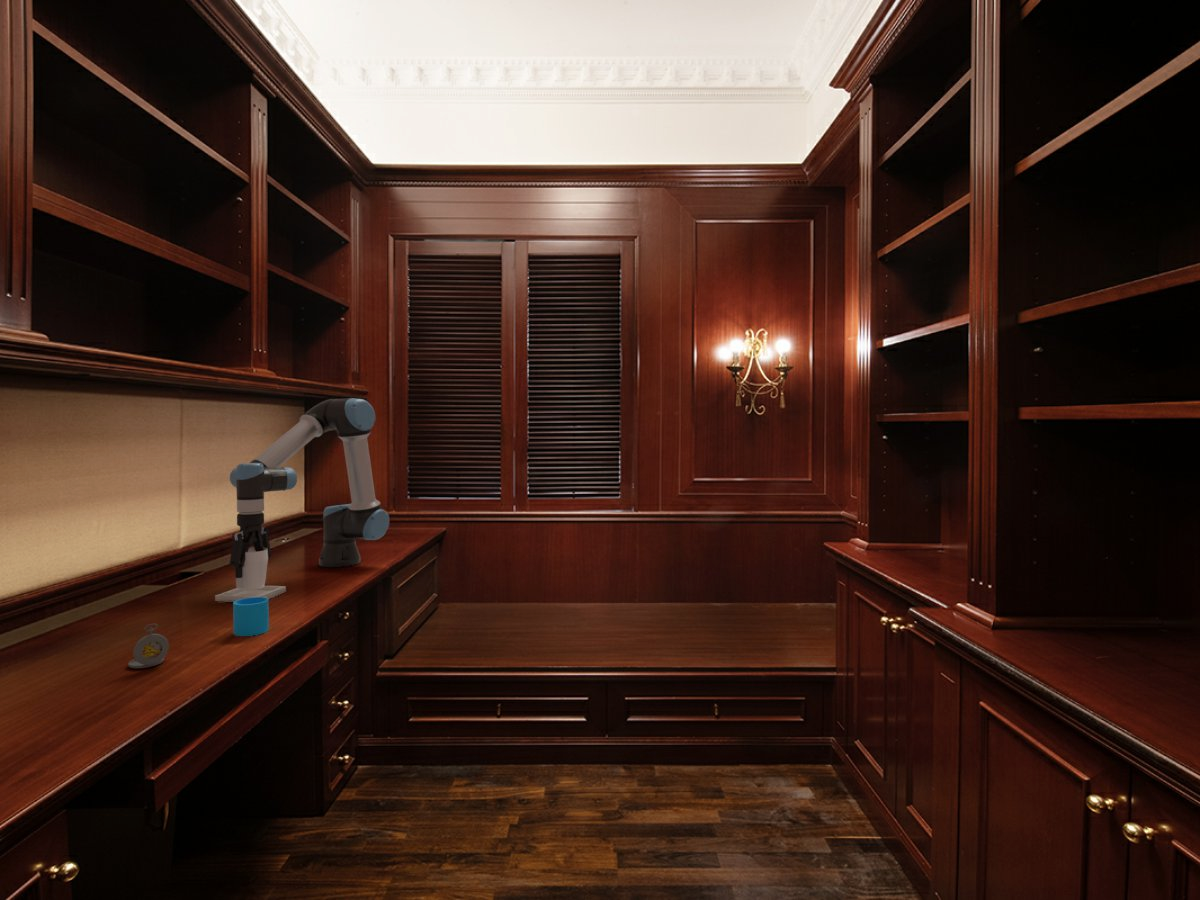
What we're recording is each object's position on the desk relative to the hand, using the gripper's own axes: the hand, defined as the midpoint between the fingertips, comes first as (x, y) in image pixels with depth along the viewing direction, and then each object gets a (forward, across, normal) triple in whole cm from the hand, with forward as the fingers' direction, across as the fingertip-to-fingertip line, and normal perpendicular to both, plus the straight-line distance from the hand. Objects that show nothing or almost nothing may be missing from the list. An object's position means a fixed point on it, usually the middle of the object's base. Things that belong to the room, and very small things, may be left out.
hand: (251, 584), depth 206 cm
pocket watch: (+4, +58, +17) cm, 61 cm away
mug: (+4, +30, +23) cm, 38 cm away
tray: (+4, 0, 0) cm, 4 cm away
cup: (+1, 0, 0) cm, 1 cm away
